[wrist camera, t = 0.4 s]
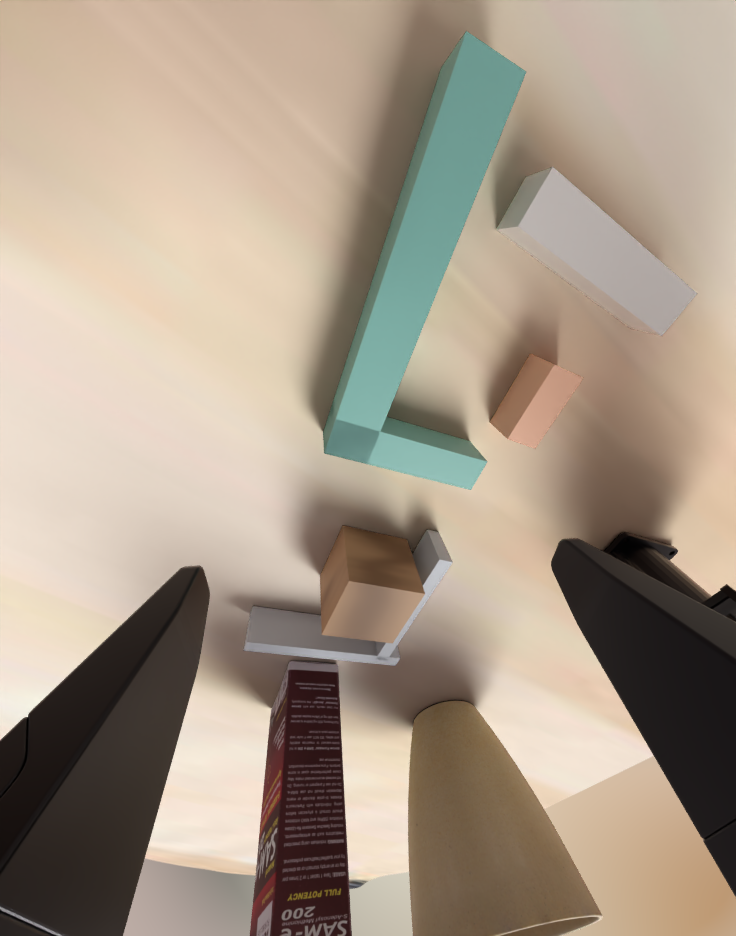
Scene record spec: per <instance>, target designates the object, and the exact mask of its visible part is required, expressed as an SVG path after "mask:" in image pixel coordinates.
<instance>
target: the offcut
mask: <svg viewBox="0 0 736 936" xmlns="http://www.w3.org/2000/svg"><path fill="white" fill-rule="evenodd" d="M582 380H583V377H581V376H579V375H577V374H574V373H572V372H570V371H568V370H566V369H563V368H561V367H559V366H557V365H555V364H552V363H550V362H548V361H546V360H544V359H541V358H539V357H537V356H535V355H533V354H530V355H529V357H528V358H527V360H526V362H525V363H524V365H523V367H522V368H521V370H520V372H519V373H518V375H517V377H516V378H515V380H514V382H513V384H512V385H511V387H510V389H509V390H508V392H507V394H506V395H505V397H504V399H503V400H502V402H501V404H500V405H499V407H498V409H497V411H496V412H495V414H494V416H493V417H492V419H491V421H490V423H491V424H492V425H493V426H494V427H495V428H496V429H498V430H499V431H500V432H501V433H502V434H503V435H504V436H505V437H506V438H507V439H509V440H512V441H515V442H518V443H520V444H523V445H526V446H529V447H532V448H536V447H537V445H538V444H539V442H540V441H541V440H542V438H543V437H544V435H545V434H546V432H547V431H548V429H549V428H550V426H551V425H552V423H553V422H554V421H555V419H556V418H557V416H558V415H559V413H560V412H561V410H562V409H563V407H564V406H565V404H566V403H567V402H568V400H569V399H570V397H571V396H572V394H573V393H574V391H575V390H576V388H577V387H578V385H579V384H580V383H581V381H582Z"/></svg>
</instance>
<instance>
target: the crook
mask: <svg viewBox="0 0 736 936" xmlns="http://www.w3.org/2000/svg"><path fill="white" fill-rule="evenodd" d="M525 74H526V71H524V70H523V69H521V68H520V67H518V66H517V65H515V64H514V63H513V62H511V61H510V60H508V59H507V58H505V57H504V56H502V55H501V54H499V53H498V52H496V51H495V50H493V49H492V48H490V47H489V46H488V45H486V44H485V43H483V42H482V41H480V40H479V39H477V38H476V37H474V36H473V35H471V34H470V33H468V32H467V31H466V32H465V34H464V35H463V37H462V38H461V39H460V41H459V42H458V44H457V45H456V47H455V48H454V50H453V51H452V53H451V54H450V56H449V57H448V58H447V60H446V61H445V63H444V64H443V66H442V67H441V70H440V73H439V76H438V79H437V82H436V85H435V88H434V91H433V95H432V98H431V101H430V104H429V107H428V110H427V113H426V116H425V119H424V122H423V125H422V128H421V132H420V135H419V138H418V141H417V144H416V147H415V150H414V153H413V156H412V159H411V162H410V165H409V169H408V172H407V175H406V178H405V181H404V184H403V187H402V190H401V193H400V196H399V199H398V202H397V206H396V209H395V212H394V215H393V218H392V221H391V224H390V227H389V230H388V233H387V236H386V239H385V243H384V246H383V249H382V252H381V255H380V258H379V261H378V264H377V267H376V270H375V273H374V276H373V280H372V283H371V286H370V289H369V292H368V295H367V298H366V301H365V304H364V307H363V310H362V313H361V317H360V320H359V323H358V326H357V329H356V332H355V335H354V338H353V341H352V344H351V347H350V350H349V354H348V357H347V360H346V363H345V366H344V369H343V372H342V375H341V378H340V381H339V384H338V388H337V391H336V394H335V397H334V400H333V403H332V406H331V409H330V412H329V415H328V418H327V421H326V425H325V428H324V431H323V440H324V453H325V454H329V455H333V456H337V457H341V458H345V459H349V460H353V461H357V462H361V463H365V464H369V465H373V466H377V467H381V468H385V469H389V470H393V471H397V472H401V473H405V474H409V475H413V476H417V477H421V478H425V479H429V480H433V481H437V482H441V483H445V484H449V485H453V486H457V487H461V488H465V489H469V490H471V489H472V487H473V486H474V484H475V482H476V480H477V479H478V477H479V475H480V474H481V472H482V470H483V468H484V467H485V465H486V463H487V461H486V460H485V458H484V457H483V456H482V455H481V454H480V452H479V451H478V450H477V449H476V448H475V447H474V445H473V444H472V443H471V442H470V441H467V440H464V439H461V438H457V437H454V436H450V435H447V434H444V433H440V432H437V431H434V430H430V429H427V428H423V427H420V426H417V425H413V424H410V423H406V422H403V421H400V420H396V419H393V418H389V417H387V414H388V412H389V409H390V407H391V404H392V402H393V399H394V397H395V394H396V392H397V389H398V387H399V385H400V382H401V380H402V377H403V375H404V372H405V370H406V367H407V365H408V362H409V360H410V357H411V355H412V352H413V350H414V348H415V345H416V343H417V340H418V338H419V335H420V333H421V330H422V328H423V325H424V323H425V320H426V318H427V315H428V313H429V311H430V308H431V306H432V303H433V301H434V298H435V296H436V293H437V291H438V288H439V286H440V283H441V281H442V279H443V276H444V274H445V271H446V269H447V266H448V264H449V261H450V259H451V256H452V254H453V251H454V249H455V246H456V244H457V242H458V239H459V237H460V234H461V232H462V229H463V227H464V224H465V222H466V219H467V217H468V214H469V212H470V209H471V207H472V205H473V202H474V200H475V197H476V195H477V192H478V190H479V187H480V185H481V182H482V180H483V177H484V175H485V173H486V170H487V168H488V165H489V163H490V160H491V158H492V155H493V153H494V150H495V148H496V145H497V143H498V140H499V138H500V136H501V133H502V131H503V128H504V126H505V123H506V121H507V118H508V116H509V113H510V111H511V108H512V106H513V103H514V101H515V99H516V96H517V94H518V91H519V89H520V86H521V84H522V81H523V79H524V76H525Z"/></svg>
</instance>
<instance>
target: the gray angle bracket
mask: <svg viewBox="0 0 736 936" xmlns="http://www.w3.org/2000/svg"><path fill="white" fill-rule="evenodd" d="M412 556H413V559H414V562H415V565H416V568H417V571H418V574H419V577H420V580H421V583H422V586H423V589H424V592H425V595H424V597H423V598H422V600H421V601H420V603H419V604H418V606H417V607H416V609H415V610H414V612H413V613H412V615H411V616H410V618H409V619H408V621H407V622H406V624H405V625H404V627H403V629H402V630H401V632H400V633H399V635H398V636H397V638H396V639H395V641H394V642H393V643H385V642H376V641H368V640H360V639H352V638H343V637H335V636H327V635H322V629H321V615H315V614H308V613H301V612H293V611H286V610H279V609H271V608H264V607H257V606H253V607H252V610H251V612H250V616H249V622H248V628H247V634H246V640H245V645H244V651H251V652H262V653H272V654H282V655H292V656H302V657H312V658H322V659H332V660H342V661H352V662H363V663H373V664H383V665H393V666H396V664H397V663H398V661H399V660H400V654H399V650H398V643H399V642H400V640H401V639H402V637H403V636H404V634H405V633H406V631H407V630H408V628H409V627H410V625H411V624H412V622H413V621H414V619H415V618H416V616H417V615H418V613H419V612H420V610H421V609H422V607H423V606H424V604H425V603H426V601H427V600H428V598H429V597H430V595H431V594H432V592H433V591H434V589H435V588H436V586H437V585H438V584H439V582H440V581H441V579H442V578H443V576H444V575H445V573H446V572H447V570H448V569H449V567H450V566H451V564H452V563H453V562H452V560H451V558H450V555H449V553H448V551H447V549H446V547H445V544H444V542H443V540H442V538H441V536H440V534H439V532H436V531H432V530H428V529H427V530H426V532H425V533H424V535H423V537H422V539H421V540H420V542H419V544H418V545H417V547H416V549H415V550H414V552H413V554H412Z"/></svg>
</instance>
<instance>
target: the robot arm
mask: <svg viewBox="0 0 736 936" xmlns="http://www.w3.org/2000/svg"><path fill="white" fill-rule="evenodd" d="M677 552H678V550H677V549H676V548H675V547H673V546H672V545H668V544H665V543H661V542H658V541H654V540H651V539H647V538H644V537H640V536H637V535H633V534H630V533H622V534H620V535H619V536H618V537H617V538H616V539H615V540H614V541H613V542H612V543H611V545H610V546H609V547H608V548H607V549H606V550H605V551H604V552H603V551H601V550H599V549H597V548H595V547H594V546H592V545H590V544H588V543H586V542H584V541H582V540H580V539H578V538H569V539H562V540H561V541H560V542H559V544H558V546H557V549H556V551H555V554H554V556H553V558H552V561H551V567H552V571H553V573H554V575H555V577H556V579H557V582H558V584H559V586H560V588H561V590H562V592H563V594H564V597H565V599H566V601H567V603H568V605H569V607H570V610H571V612H572V614H573V616H574V618H575V620H576V622H577V624H578V626H579V628H580V630H581V631H582V633H583V635H584V637H585V638H586V640H587V642H588V643H589V645H590V647H591V649H592V650H593V652H594V654H595V655H596V657H597V659H598V661H599V662H600V664H601V666H602V668H603V669H604V671H605V673H606V674H607V676H608V678H609V680H610V681H611V683H612V685H613V686H614V688H615V690H616V692H617V693H618V695H619V697H620V698H621V700H622V702H623V704H624V705H625V707H626V709H627V710H628V712H629V714H630V716H631V717H632V719H633V721H634V722H635V724H636V726H637V728H638V729H639V731H640V733H641V734H642V736H643V738H644V740H645V741H646V743H647V745H648V747H649V748H650V750H651V752H652V753H653V755H654V757H655V758H656V760H657V762H658V764H659V765H660V767H661V769H662V771H663V772H664V774H665V776H666V777H667V779H668V781H669V782H670V784H671V786H672V788H673V789H674V791H675V793H676V795H677V796H678V798H679V800H680V801H681V803H682V805H683V807H684V808H685V810H686V812H687V813H688V815H689V817H690V818H691V820H692V822H693V824H694V826H695V827H696V829H697V831H698V832H699V834H700V836H701V837H702V838H703V841H704V843H705V845H706V847H707V848H708V850H709V852H710V853H711V855H712V857H713V859H714V860H715V862H716V864H717V865H718V867H719V869H720V871H721V872H722V874H723V876H724V878H725V879H726V881H727V883H728V884H729V886H730V888H731V890H732V891H733V893H734V895H735V896H736V591H735V590H734V589H732V588H731V587H730V586H728V585H727V584H726V585H725V586H723V587H722V588H720V590H721V591H719V592H718V593H716V594H715V595H713V596H711V595H709V594H708V593H707V592H706V591H705V590H704V589H702V588H701V587H700V586H699V585H698V584H697V583H695V582H694V581H693V580H692V579H691V578H689V577H688V576H687V575H686V574H685V573H684V572H682V571H681V570H680V569H679V568H678V567H677V566H675V565H674V564H673V563H672V562H671V561H670V560H671V559H672V558H673V557H674V556H675V555H676V554H677ZM209 599H210V592H209V587H208V583H207V580H206V576H205V573H204V570H203V568H202V567H201V566H187V567H183V568H181V569H180V570H178V571H177V572H176V573H175V574H174V575H173V576H172V577H171V578H170V579H169V580H168V581H167V582H166V583H165V584H164V585H163V586H162V587H161V588H160V589H159V590H157V591H156V592H155V593H154V594H153V595H152V596H151V597H150V598H149V599H148V600H147V601H146V602H145V603H144V604H143V605H142V606H141V607H140V608H139V609H138V610H136V611H135V612H134V613H133V614H132V615H131V616H130V617H129V618H128V619H127V620H126V621H125V622H124V623H123V624H122V625H121V626H120V627H119V628H118V629H117V630H116V631H114V632H113V633H112V634H111V635H110V636H109V637H108V638H107V639H106V640H105V641H104V642H103V643H102V644H101V645H100V646H99V647H98V648H97V649H96V650H95V651H93V652H92V653H91V654H90V655H89V656H88V657H87V658H86V659H85V660H84V661H83V662H82V663H81V664H80V665H79V666H78V667H77V668H76V669H75V670H74V671H73V672H71V673H70V674H69V675H68V676H67V677H66V678H65V679H64V680H63V681H62V682H61V683H60V684H59V685H58V686H57V687H56V688H55V689H54V690H53V691H52V692H50V693H49V694H48V695H47V696H46V697H45V698H44V699H43V700H42V701H41V702H40V703H39V704H38V705H37V706H36V707H35V708H34V709H33V710H32V711H31V712H30V713H29V715H28V717H25V718H23V719H22V720H21V721H20V722H19V723H18V724H17V725H16V726H15V727H14V728H12V729H11V730H10V731H9V732H8V733H7V734H6V735H5V736H4V737H3V738H2V739H1V740H0V936H123V933H124V929H125V926H126V922H127V919H128V915H129V911H130V908H131V905H132V901H133V898H134V894H135V890H136V887H137V883H138V880H139V876H140V873H141V869H142V865H143V862H144V858H145V855H146V851H147V848H148V844H149V841H150V837H151V833H152V830H153V826H154V823H155V819H156V816H157V812H158V809H159V805H160V801H161V798H162V794H163V791H164V787H165V784H166V780H167V776H168V773H169V769H170V766H171V762H172V759H173V755H174V752H175V748H176V744H177V741H178V737H179V734H180V730H181V727H182V723H183V719H184V716H185V712H186V709H187V705H188V702H189V698H190V695H191V691H192V687H193V684H194V680H195V677H196V673H197V669H198V665H199V659H200V654H201V648H202V642H203V636H204V629H205V623H206V617H207V611H208V605H209Z"/></svg>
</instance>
